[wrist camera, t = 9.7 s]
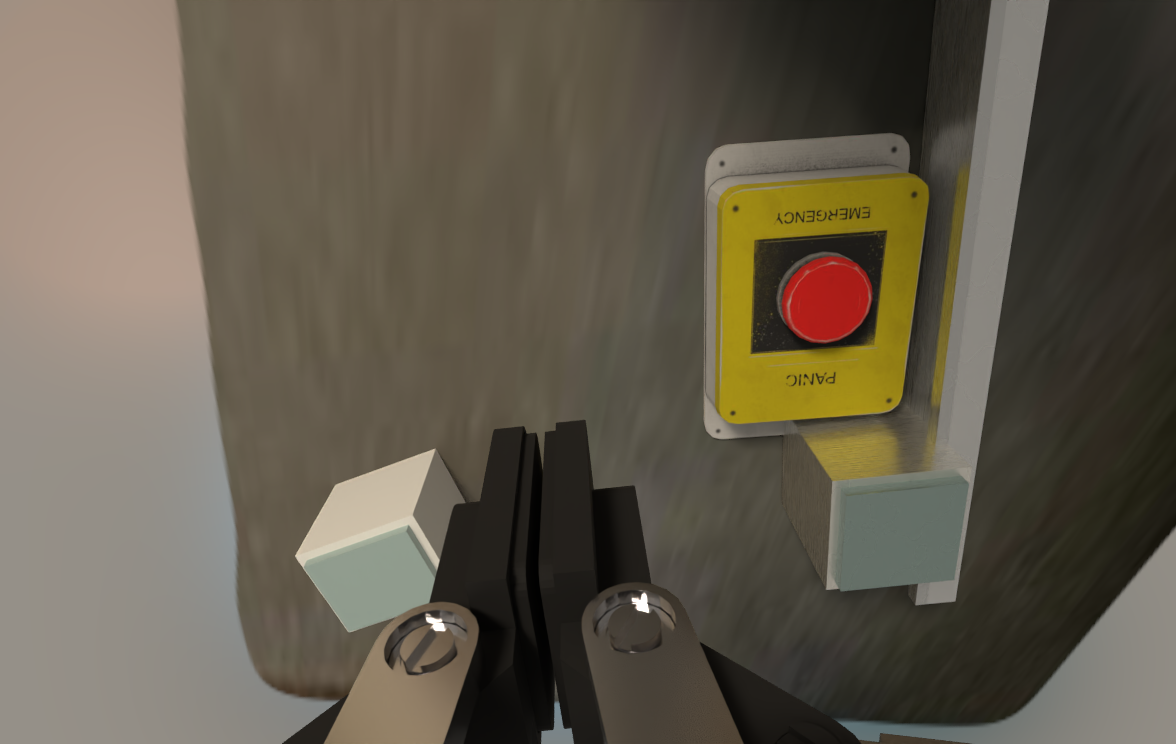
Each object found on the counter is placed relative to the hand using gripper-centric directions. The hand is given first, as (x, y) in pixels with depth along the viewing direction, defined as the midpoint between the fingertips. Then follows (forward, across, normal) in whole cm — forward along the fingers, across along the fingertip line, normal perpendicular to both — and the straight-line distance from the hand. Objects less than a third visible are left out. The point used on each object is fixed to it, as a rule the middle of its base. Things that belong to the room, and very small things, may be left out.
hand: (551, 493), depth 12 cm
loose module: (+20, +10, +14) cm, 27 cm away
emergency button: (+21, -11, +4) cm, 25 cm away
